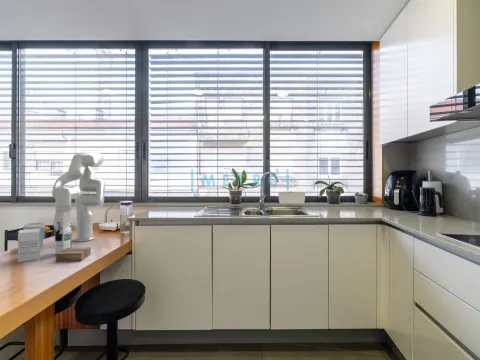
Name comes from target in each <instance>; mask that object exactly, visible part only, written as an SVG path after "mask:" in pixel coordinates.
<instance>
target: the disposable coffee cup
mask: <svg viewBox="0 0 480 360" xmlns="http://www.w3.org/2000/svg"><path fill="white" fill-rule="evenodd" d="M46 227H47V226H46V224H45V223H43V222H30V223H26V224H24V226H23V227H22V228H23V229H22V230H30V229H40V249H42V247H43V244H44V239H45V230H46Z"/></svg>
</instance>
